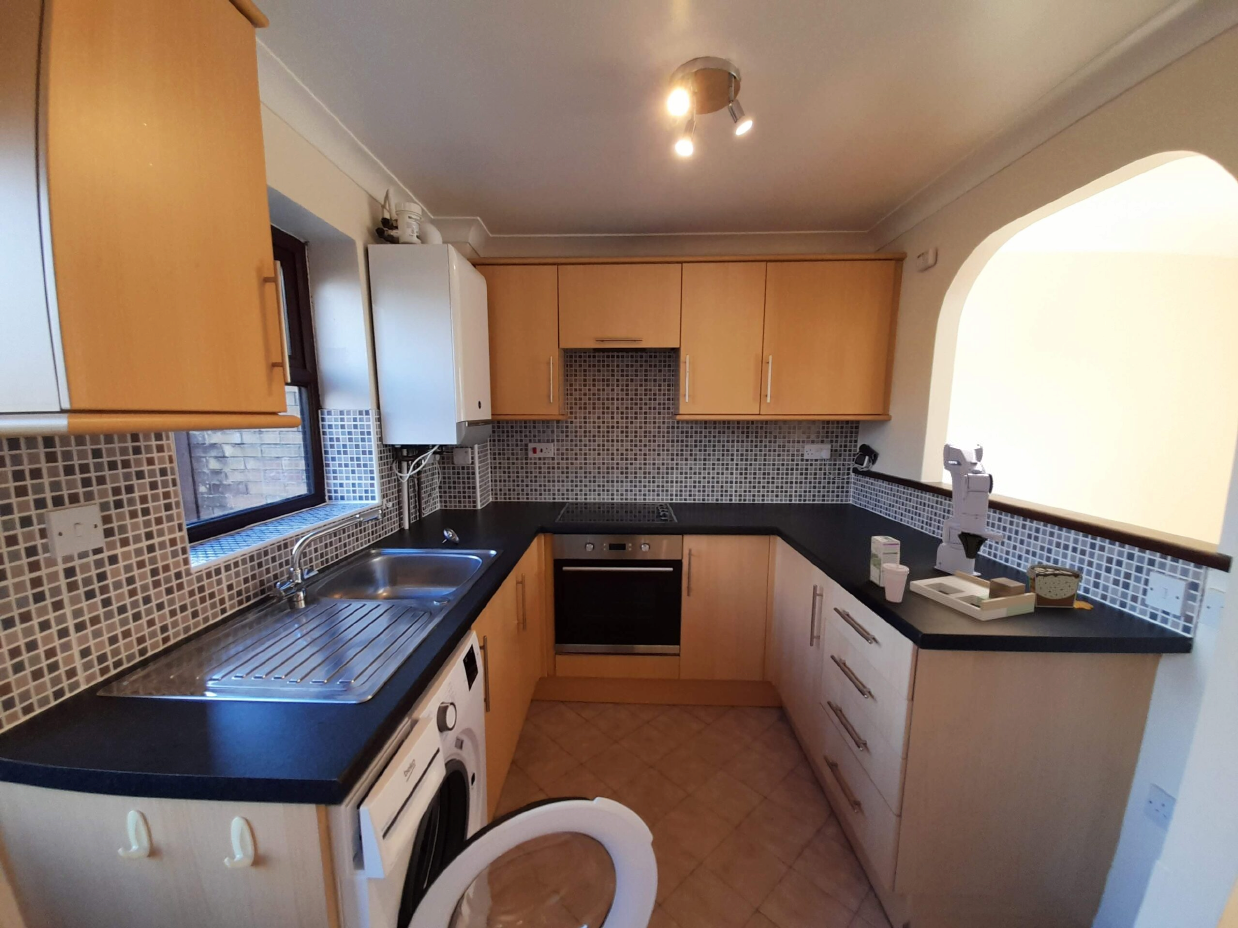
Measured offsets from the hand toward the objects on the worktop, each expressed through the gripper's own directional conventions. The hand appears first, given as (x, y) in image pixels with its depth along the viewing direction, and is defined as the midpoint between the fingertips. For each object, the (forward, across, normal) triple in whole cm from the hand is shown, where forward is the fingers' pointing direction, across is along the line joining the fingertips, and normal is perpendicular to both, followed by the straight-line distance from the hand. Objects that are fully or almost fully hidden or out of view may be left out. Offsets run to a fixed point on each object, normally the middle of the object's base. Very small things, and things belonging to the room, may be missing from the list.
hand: (970, 558), depth 123 cm
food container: (+10, +13, +10) cm, 19 cm away
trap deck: (+9, +6, -8) cm, 14 cm away
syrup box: (+10, -10, -21) cm, 25 cm away
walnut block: (+7, +13, -4) cm, 15 cm away
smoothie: (+10, 0, -28) cm, 30 cm away
